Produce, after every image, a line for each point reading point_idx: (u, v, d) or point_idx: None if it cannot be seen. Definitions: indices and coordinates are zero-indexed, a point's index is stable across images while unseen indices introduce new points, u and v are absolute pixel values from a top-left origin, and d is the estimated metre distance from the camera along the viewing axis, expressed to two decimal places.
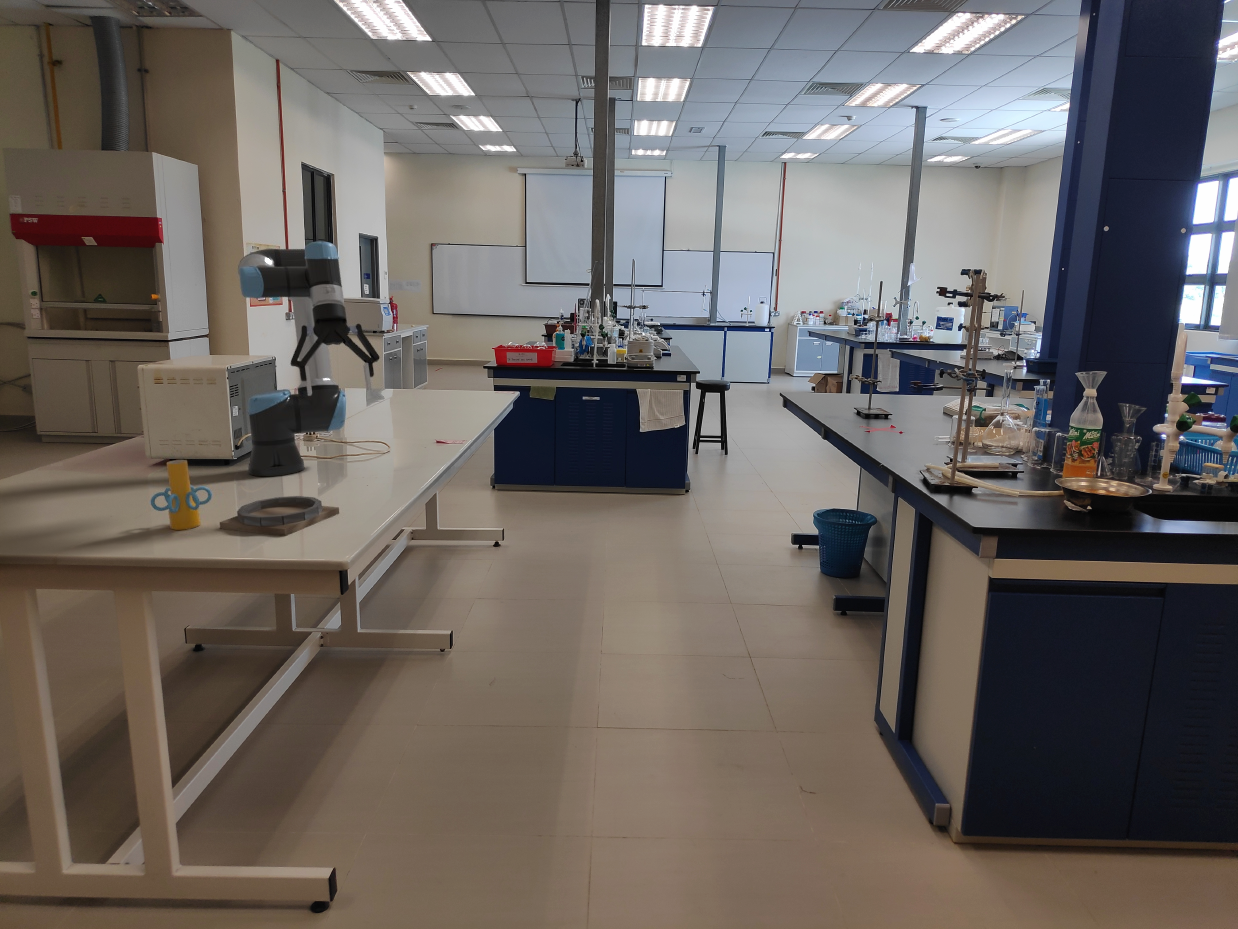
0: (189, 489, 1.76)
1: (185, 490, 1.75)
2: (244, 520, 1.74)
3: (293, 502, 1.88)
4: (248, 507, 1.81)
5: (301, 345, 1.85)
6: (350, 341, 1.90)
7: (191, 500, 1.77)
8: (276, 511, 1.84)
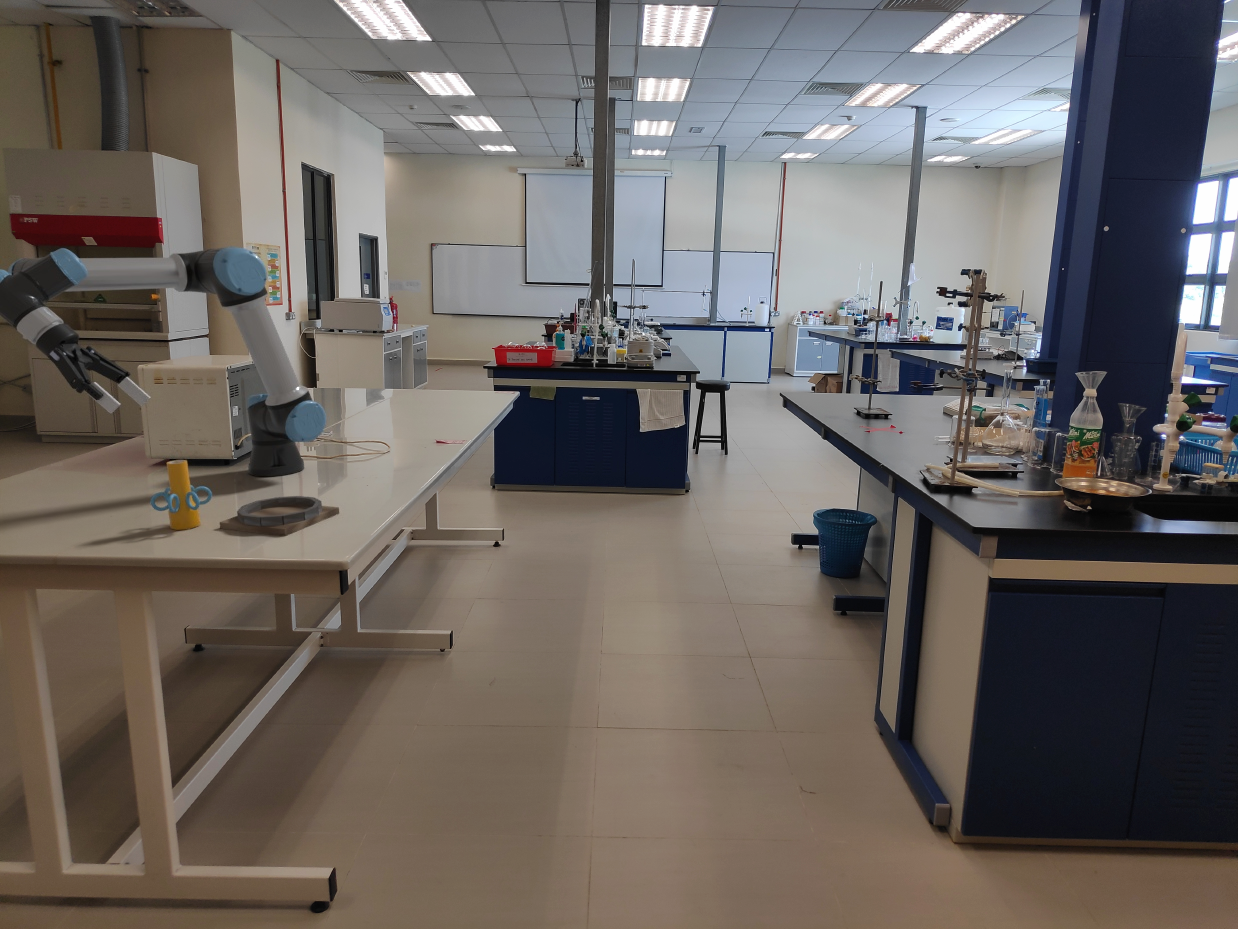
0: (189, 489, 1.76)
1: (185, 490, 1.75)
2: (244, 520, 1.74)
3: (293, 502, 1.88)
4: (248, 507, 1.81)
5: None
6: None
7: (191, 500, 1.77)
8: (276, 511, 1.84)
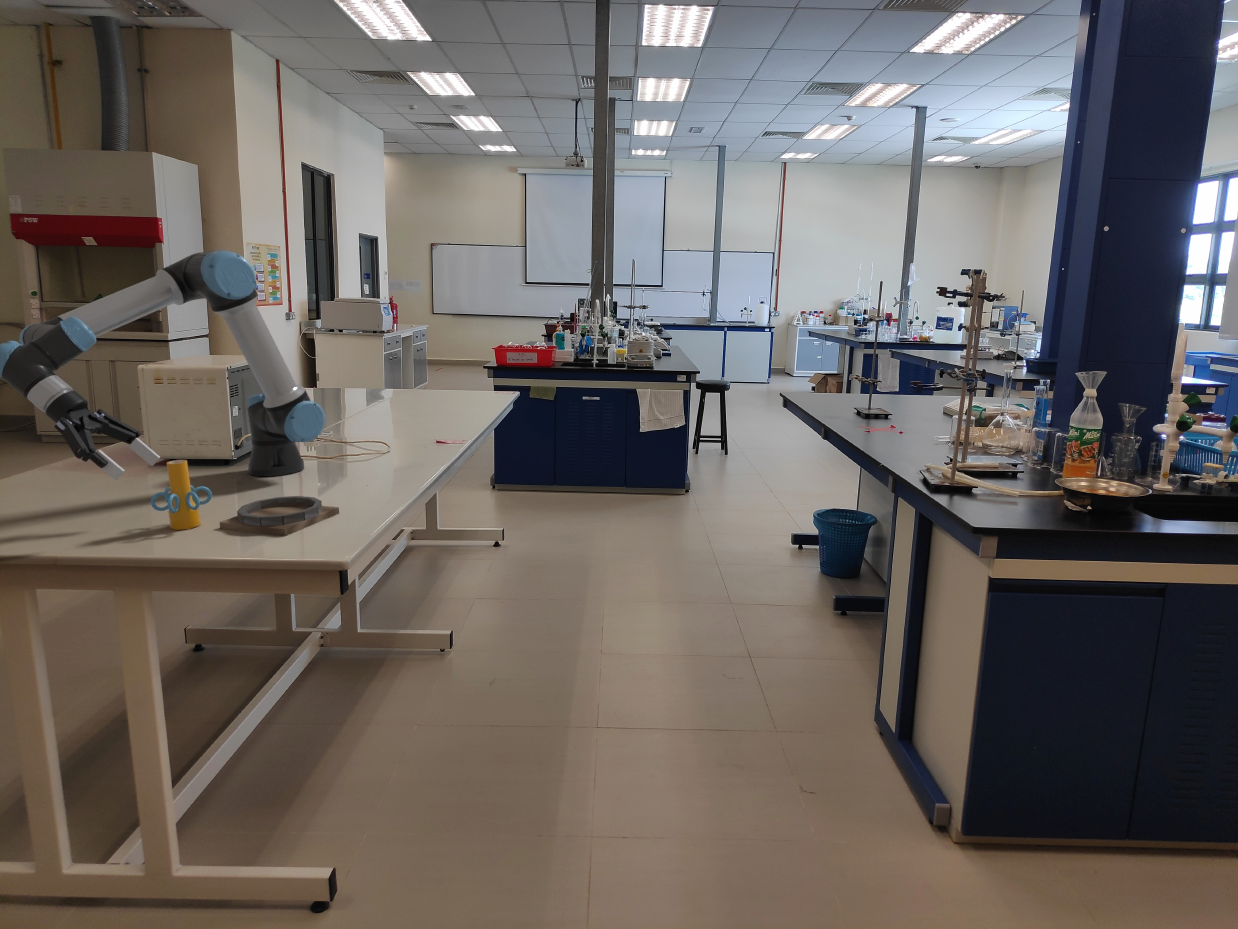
0: (189, 489, 1.76)
1: (185, 490, 1.75)
2: (244, 520, 1.74)
3: (293, 502, 1.88)
4: (248, 507, 1.81)
5: None
6: None
7: (191, 500, 1.77)
8: (276, 511, 1.84)
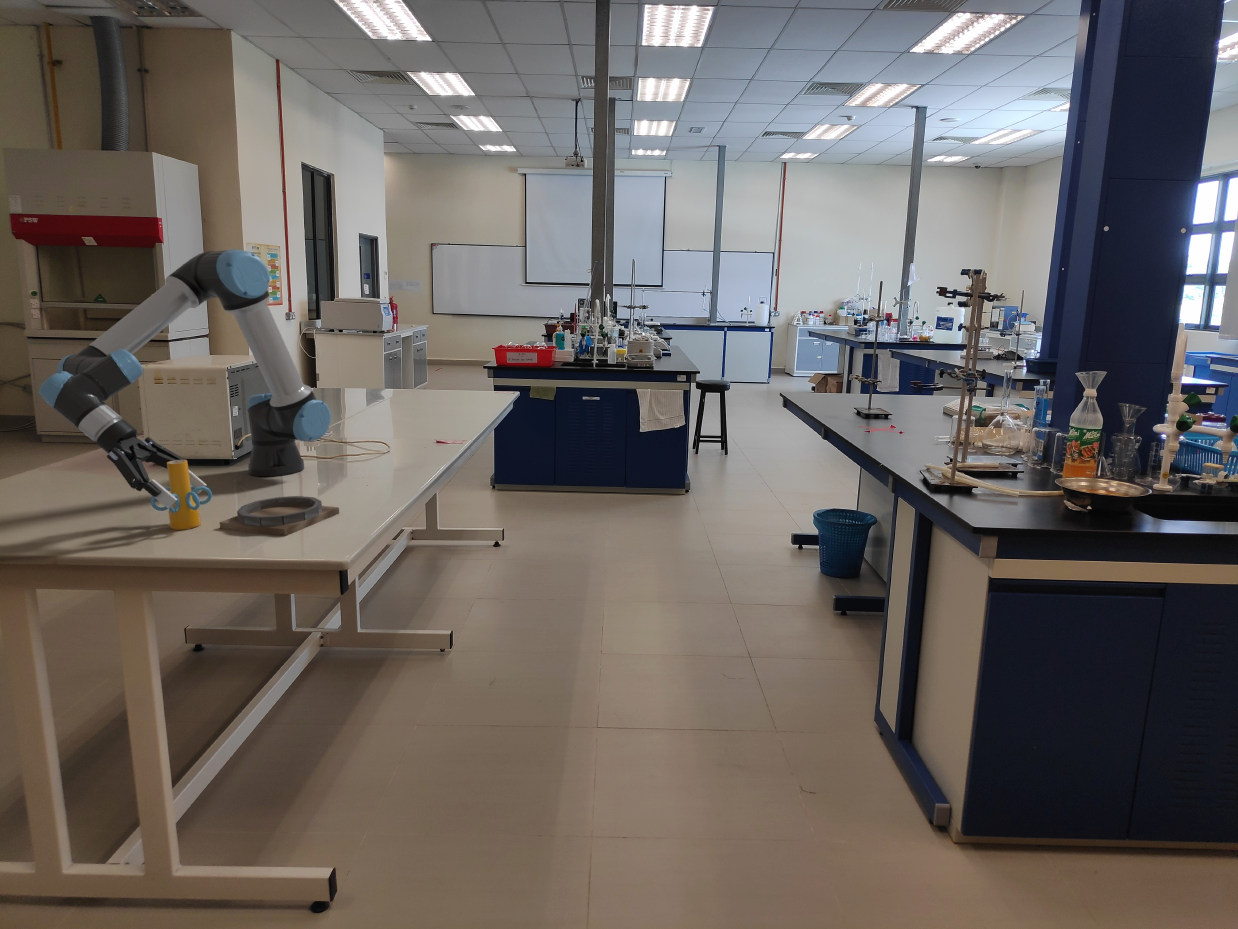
0: (189, 489, 1.76)
1: (185, 490, 1.75)
2: (244, 520, 1.74)
3: (293, 502, 1.88)
4: (248, 507, 1.81)
5: None
6: None
7: (191, 500, 1.77)
8: (276, 511, 1.84)
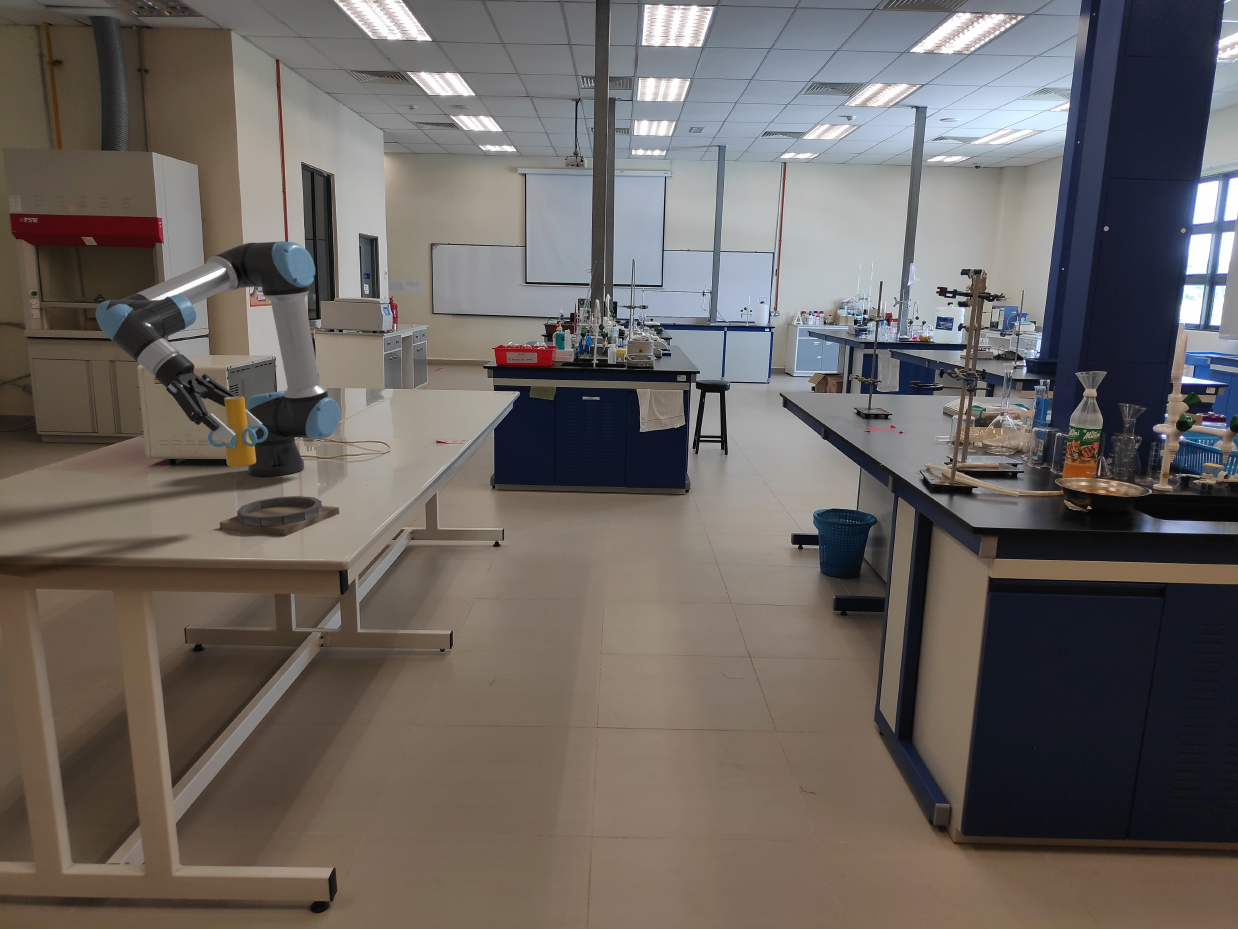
0: (246, 426, 1.74)
1: (242, 426, 1.73)
2: (244, 520, 1.74)
3: (293, 502, 1.88)
4: (248, 507, 1.81)
5: None
6: None
7: (248, 437, 1.75)
8: (276, 511, 1.84)
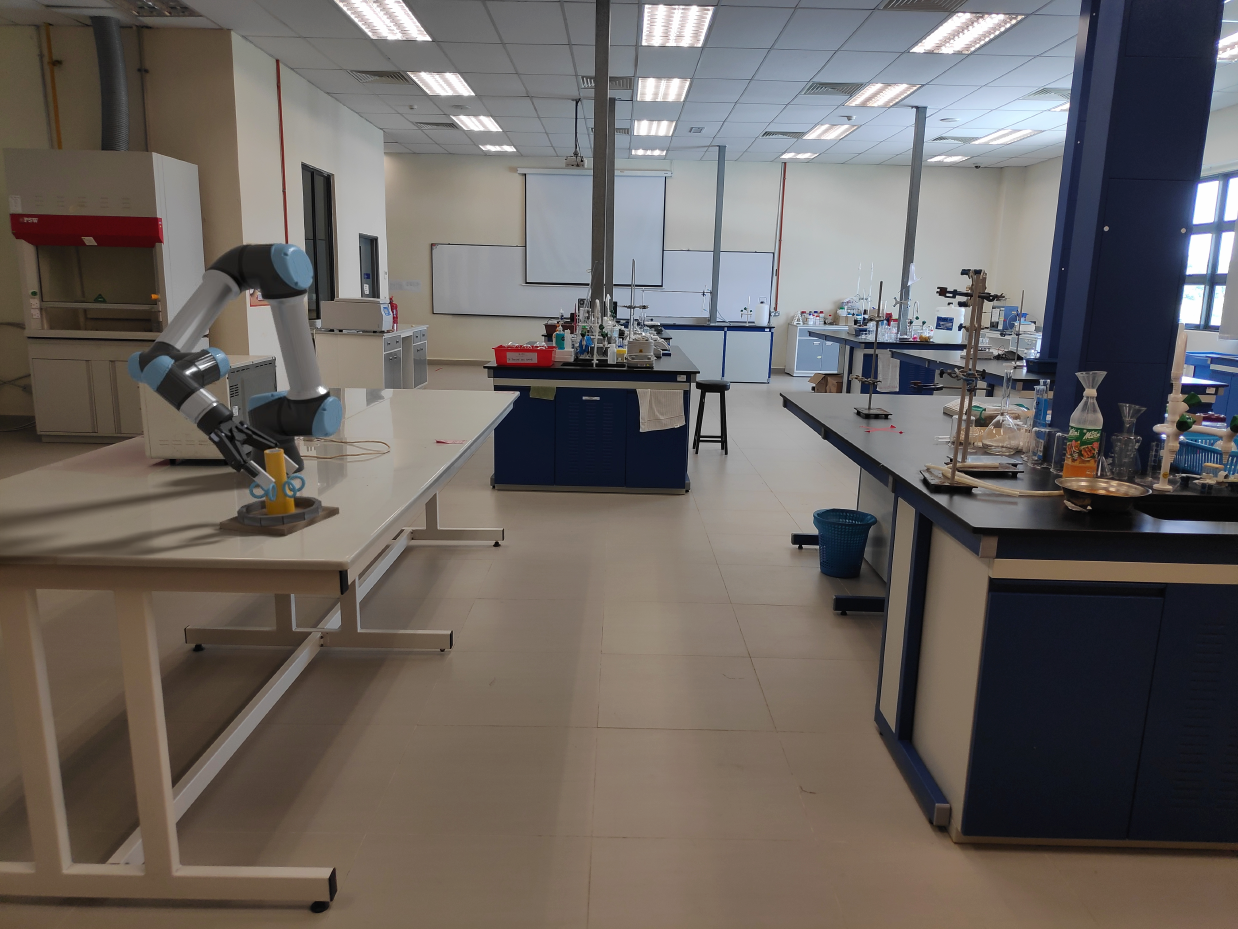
0: (285, 477, 1.79)
1: (282, 478, 1.78)
2: (244, 520, 1.74)
3: None
4: (248, 507, 1.81)
5: None
6: None
7: (287, 488, 1.80)
8: None
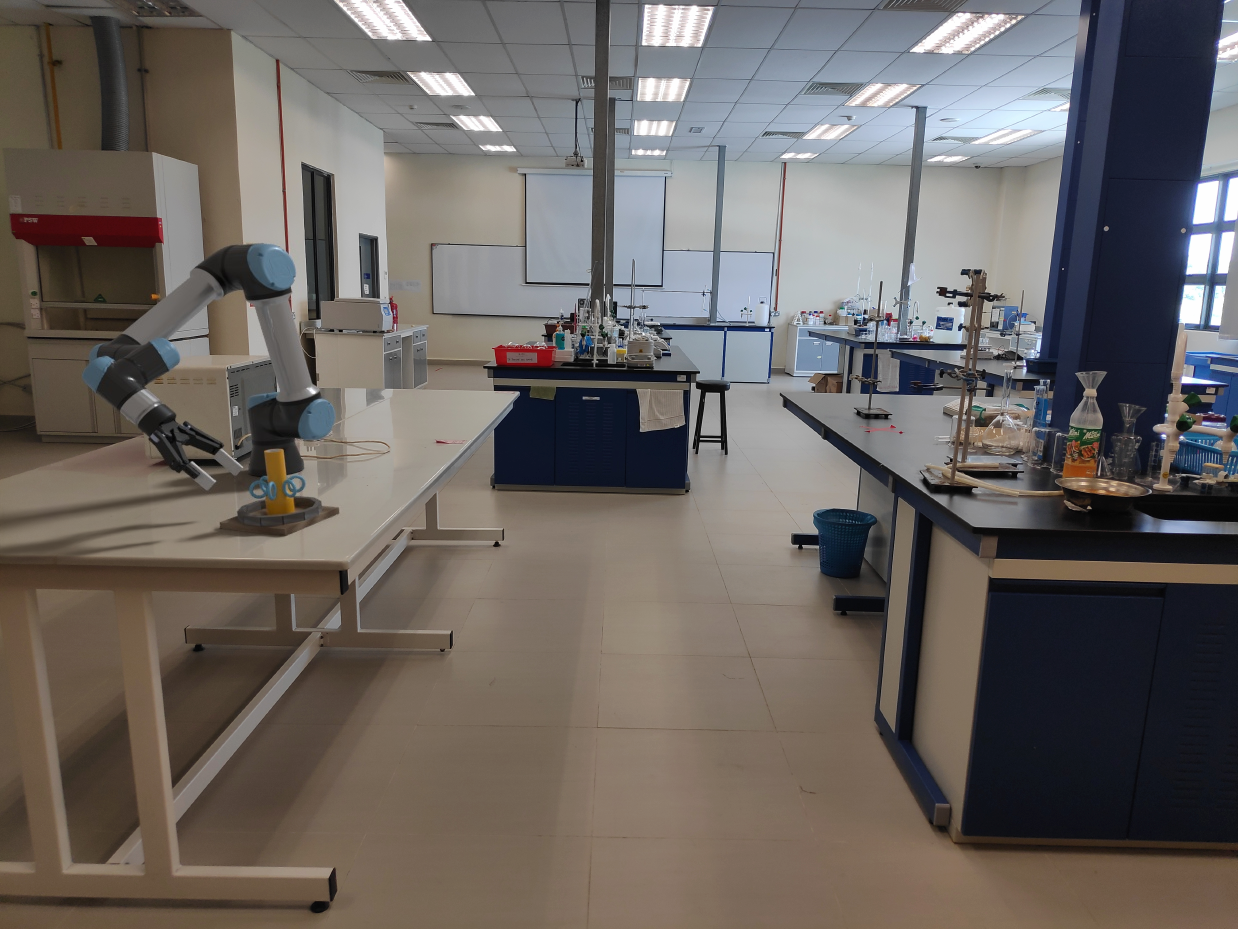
0: (285, 477, 1.79)
1: (282, 478, 1.78)
2: (244, 520, 1.74)
3: None
4: (248, 507, 1.81)
5: None
6: None
7: (287, 488, 1.80)
8: None
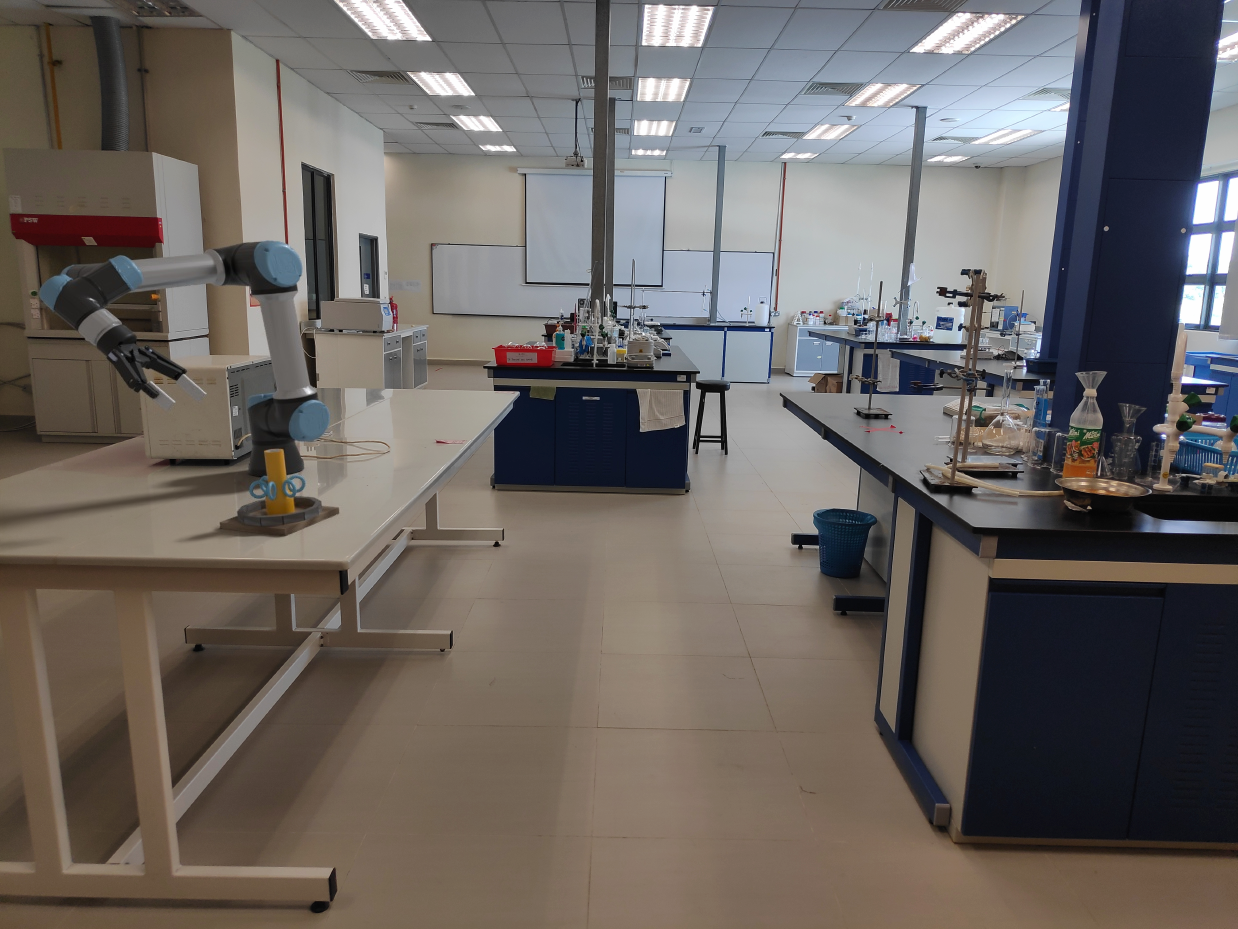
0: (285, 477, 1.79)
1: (282, 478, 1.78)
2: (244, 520, 1.74)
3: None
4: (248, 507, 1.81)
5: None
6: None
7: (287, 488, 1.80)
8: None
